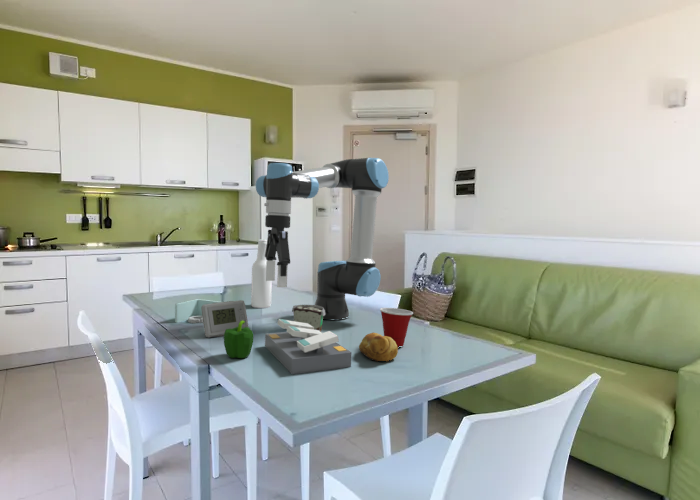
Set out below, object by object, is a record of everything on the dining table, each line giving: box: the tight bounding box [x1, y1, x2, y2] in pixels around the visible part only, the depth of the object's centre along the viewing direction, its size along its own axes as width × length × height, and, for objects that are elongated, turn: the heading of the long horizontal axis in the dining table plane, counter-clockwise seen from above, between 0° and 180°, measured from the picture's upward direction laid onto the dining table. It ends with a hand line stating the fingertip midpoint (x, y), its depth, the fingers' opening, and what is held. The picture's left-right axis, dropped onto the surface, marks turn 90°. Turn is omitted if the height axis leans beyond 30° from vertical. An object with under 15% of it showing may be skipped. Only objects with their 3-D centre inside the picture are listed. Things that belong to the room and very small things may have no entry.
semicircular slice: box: [291, 304, 325, 332], centre depth 150 cm, size 12×6×10 cm, turn 65°
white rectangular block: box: [297, 330, 339, 352], centre depth 119 cm, size 10×6×2 cm, turn 116°
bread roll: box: [358, 332, 399, 362], centre depth 129 cm, size 13×10×8 cm
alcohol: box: [250, 239, 273, 309], centre depth 193 cm, size 9×9×30 cm
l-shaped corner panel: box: [174, 298, 220, 324], centre depth 163 cm, size 12×12×8 cm
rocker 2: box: [286, 326, 323, 338], centre depth 127 cm, size 10×6×2 cm, turn 117°
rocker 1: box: [277, 318, 314, 330], centre depth 135 cm, size 10×6×2 cm, turn 117°
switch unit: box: [264, 329, 352, 375], centre depth 127 cm, size 17×26×6 cm, turn 26°
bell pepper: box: [223, 321, 254, 359], centre depth 124 cm, size 8×8×10 cm
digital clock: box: [201, 299, 250, 338], centre depth 148 cm, size 16×9×11 cm, turn 123°
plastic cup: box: [379, 307, 414, 347], centre depth 141 cm, size 11×11×12 cm
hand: (275, 283), depth 134 cm, fingers open, 13 cm apart
